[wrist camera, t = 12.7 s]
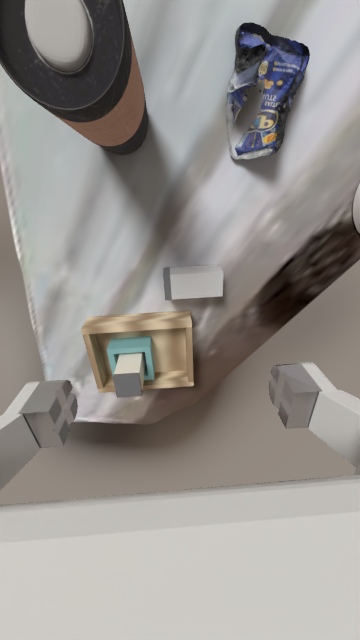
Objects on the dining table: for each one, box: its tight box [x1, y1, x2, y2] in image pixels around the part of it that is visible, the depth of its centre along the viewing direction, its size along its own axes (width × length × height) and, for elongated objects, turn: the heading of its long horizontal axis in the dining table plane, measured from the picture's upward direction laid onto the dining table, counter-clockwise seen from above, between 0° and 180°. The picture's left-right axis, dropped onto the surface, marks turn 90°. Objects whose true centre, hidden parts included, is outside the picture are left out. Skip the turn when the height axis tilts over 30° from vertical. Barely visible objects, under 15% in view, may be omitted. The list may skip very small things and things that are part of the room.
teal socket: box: [107, 336, 155, 380], centre depth 44 cm, size 7×7×4 cm
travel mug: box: [0, 0, 148, 155], centre depth 21 cm, size 8×8×20 cm
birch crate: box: [81, 310, 194, 393], centre depth 44 cm, size 18×14×4 cm
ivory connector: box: [113, 352, 146, 397], centre depth 42 cm, size 4×4×9 cm
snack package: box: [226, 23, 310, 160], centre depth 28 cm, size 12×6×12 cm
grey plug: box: [163, 264, 223, 300], centre depth 38 cm, size 9×4×4 cm, turn 93°
